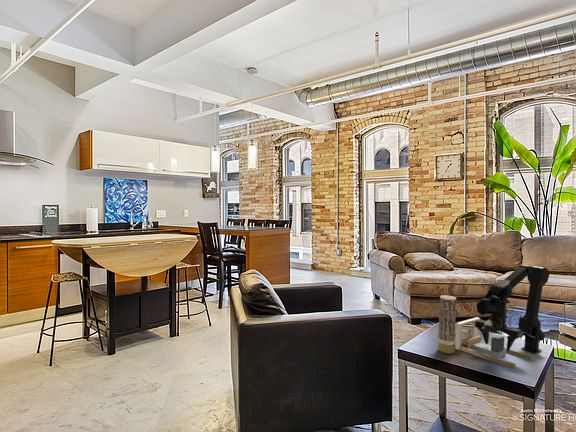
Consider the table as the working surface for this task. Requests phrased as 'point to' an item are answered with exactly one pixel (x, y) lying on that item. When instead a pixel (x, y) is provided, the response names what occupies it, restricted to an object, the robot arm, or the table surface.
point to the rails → (497, 358)
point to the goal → (459, 331)
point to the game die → (465, 337)
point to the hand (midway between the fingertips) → (497, 347)
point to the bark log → (447, 324)
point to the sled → (488, 346)
